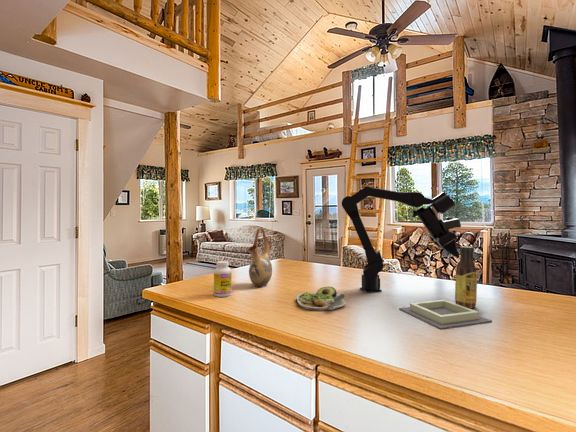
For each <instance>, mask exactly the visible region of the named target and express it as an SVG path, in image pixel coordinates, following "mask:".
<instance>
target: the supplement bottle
mask: <svg viewBox="0 0 576 432" xmlns="http://www.w3.org/2000/svg"><path fill="white" fill-rule="evenodd" d="M229 265H230V262H229V261H228V260H219V261H216V268H215V269H214V270H213V295H214V297H217V298H224V297H225V298H226V297H230V296H231V295H232V291H233V290H232V288H233V287H232V269H231V268H230V267H229Z"/></svg>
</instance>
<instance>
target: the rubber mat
mask: <svg viewBox="0 0 576 432" xmlns="http://www.w3.org/2000/svg"><path fill="white" fill-rule="evenodd" d="M399 310H400V311H402V312H404V313H406V314H408V315H410V316H413V317H414V318H417V319H418V320H420V321H423V322H424V323H427V324H428V325H431V326H433V327H435V328H437V329H439V330H446V329H451V328H452V329H453V328H454V329H455V328H460V327H465V326H466V327H467V326H473V325H481V324H486V323H492V322H493V320H492V319H489V318H486V317H483V316H481V315H479V319H474V320H467V321H460V322H452V323H445V324H440V323H438V322H436V321H433V320H431V319H429V318H427V317H425V316H423V315H420V314H418V313H416V312H414V311H412V310H410V306H406V307H399ZM428 310H431V311H433V312H435V313H438V314H440V315H446V314H454V313H458V312H455V311H453V310H450V309H448V308H445V307H440V308H431V309H428Z"/></svg>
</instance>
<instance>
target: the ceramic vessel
mask: <svg viewBox="0 0 576 432" xmlns="http://www.w3.org/2000/svg"><path fill="white" fill-rule="evenodd" d="M260 232H261V233H262V240H263V246H264V247H263V249H262V252H261V254H260V253H259V249H258V248H259V247H258V242H259V234H260ZM272 247H273V245H272V244H271V242H270V241H269V239H268V237H267V235H266V232H265V230H264V228H263V227H259V228H258V229H257V230H256V232H255V237H254V241H253V244H252V246H249V248H247V250H248V252H249V253H250V255H251V262H250V263H249V269H248V274H249V275H248V276H249V279H250V282H251V283H252V284H253V285H254V286H255V287H257V288H262V287H265V286H267V285H268V283H269V282H270V280H271V279H272V275H273V265H272V262H271V260H270V252H271V249H272Z"/></svg>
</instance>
